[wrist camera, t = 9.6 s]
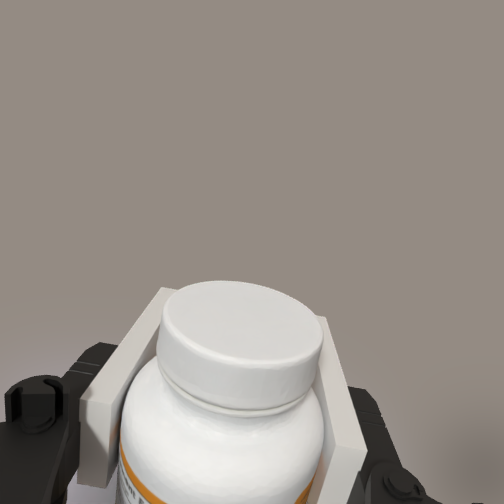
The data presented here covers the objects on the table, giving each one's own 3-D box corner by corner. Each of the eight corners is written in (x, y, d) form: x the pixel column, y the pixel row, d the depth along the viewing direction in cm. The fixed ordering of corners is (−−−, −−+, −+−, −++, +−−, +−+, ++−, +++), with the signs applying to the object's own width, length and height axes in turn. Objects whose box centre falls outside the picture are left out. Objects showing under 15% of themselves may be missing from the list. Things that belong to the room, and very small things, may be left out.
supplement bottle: (230, 472, 15) (274, 265, 12) (307, 620, 11) (405, 358, 8) (95, 524, 12) (110, 272, 9) (128, 752, 8) (174, 422, 5)
